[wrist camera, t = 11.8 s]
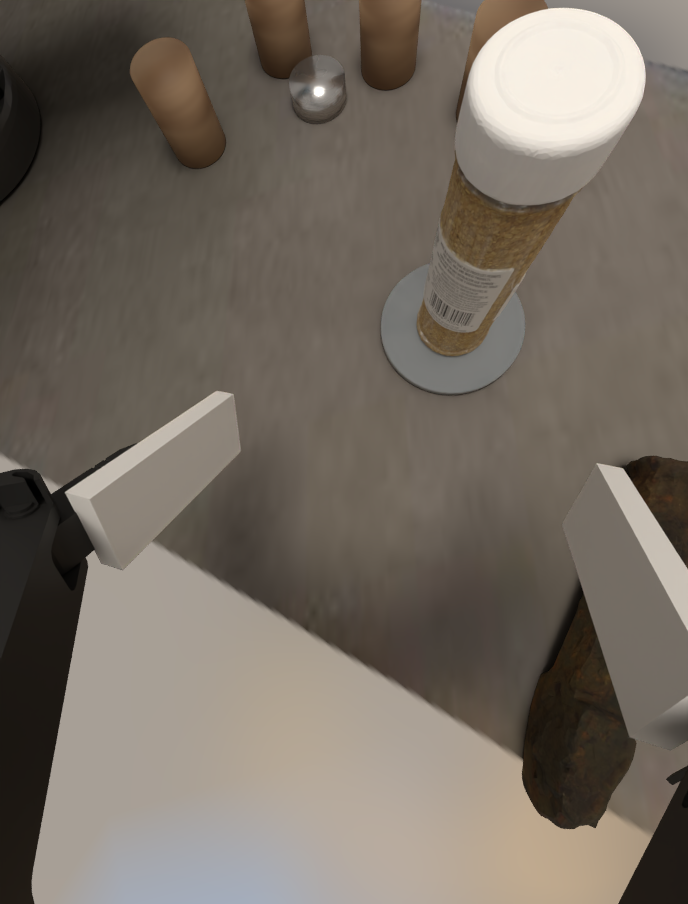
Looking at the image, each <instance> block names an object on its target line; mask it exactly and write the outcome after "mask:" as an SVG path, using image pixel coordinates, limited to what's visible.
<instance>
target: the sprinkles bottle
mask: <svg viewBox="0 0 688 904" xmlns="http://www.w3.org/2000/svg"><path fill="white" fill-rule="evenodd" d="M645 77H646V74H645V66H644V61H643V58H642V55H641V52H640V50H639V48H638V46H637V45H636V43H635V42H634V40H633V39H632V38H631V37H630V35H629V34H628V33H627V32H626V31H625V30H624V29H623V28H622V27H620V26H619V25H618V24H617V23H615V22H613V21H612V20H610V19H608V18H606V17H604V16H602V15H599V14H597V13H594V12H590V11H586V10H581V9H573V8H552V9H545V10H540V11H537V12H533V13H530V14H527V15H525V16H522V17H520V18H518V19H516V20H514V21H512V22H510V23H509V24H507V25H506V26H504V27H503V28H501V29H500V30H499V31H498V32H496V33H495V34H494V35H493V36H492V37H491V38H490V39H489V40H488V41H487V42H486V44H485V45H484V46H483V47H482V48H481V50H480V52H479V53H478V55H477V57H476V59H475V60H474V62H473V64H472V67H471V70H470V73H469V76H468V80H467V84H466V88H465V93H464V97H463V101H462V105H461V109H460V113H459V118H458V123H457V128H456V133H455V162H454V166H453V171H452V175H451V179H450V183H449V188H448V192H447V196H446V200H445V204H444V207H443V209H442V212H441V216H440V220H439V224H438V229H437V233H436V238H435V242H434V247H433V251H432V256H431V261H430V265H429V269H428V274H427V278H426V283H425V287H424V298H423V301H422V305H421V307H420V309H419V312H418V315H417V330H418V333H419V336H420V338H421V340H422V341H423V342H424V343H425V345H426V346H427V347H428V348H430V349H432V350H433V351H434V352H436V353H439V354H442V355H445V356H459V355H463V354H466V353H469V352H472V351H473V350H474V349H476V348H477V347H478V346H479V345H480V344H481V343H482V342H483V340H484V339H485V337H486V336H487V334H488V332H489V329H490V327H491V325H492V324H493V322H494V320H495V319H496V318H497V317H498V316H499V315H500V313H501V312H502V311H503V309H504V308H505V306H506V305H507V303H508V302H509V300H510V299H511V297H512V296H513V294H514V292H515V291H516V289H517V288H518V286H519V285H520V283H521V282H522V280H523V278H524V276H525V274H526V271H527V269H528V268H529V267H530V265H531V263H532V262H533V261H534V259H535V258H536V256H537V255H538V253H539V251H540V250H541V248H542V247H543V245H544V243H545V242H546V240H547V239H548V238H549V236H550V234H551V233H552V231H553V229H554V227H555V226H556V224H557V223H558V222H559V220H560V218H561V217H562V216H563V214H564V212H565V211H566V209H567V207H568V206H569V204H570V202H571V201H572V199H573V197H574V196H575V195H576V194H577V193H578V192H579V191H580V190H581V189H582V188H583V186H585V185H586V184H587V183H588V182H589V181H591V180H592V178H593V177H594V176H595V175H596V174H597V173H598V171H599V170H600V168H601V167H602V165H603V164H604V162H605V161H606V159H607V158H608V156H609V155H610V153H611V152H612V150H613V149H614V147H615V146H616V144H617V142H618V141H619V139H620V138H621V136H622V134H623V133H624V131H625V129H626V128H627V126H628V125H629V123H630V121H631V120H632V118H633V117H634V115H635V113H636V111H637V109H638V107H639V105H640V103H641V100H642V97H643V93H644V87H645Z"/></svg>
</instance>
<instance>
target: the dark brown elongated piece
mask: <svg viewBox="0 0 688 904" xmlns="http://www.w3.org/2000/svg"><path fill="white" fill-rule="evenodd" d="M627 469H628V472H629V474H630V477H631V479H630V480H631V481H632V483H633V485H634V486H635V488H636V489H637V491H638V492H639V494H640V496H641V497H642V499H643V500H644V502H645V503H646V505H647V506H648V508H649V510H650V511H651V513H652V514H653V516H654V517H655V519H656V520H657V522H658V524H659V525H660V527H661V528H662V530H663V531H664V533H665V535H666V536H667V538H668V539H669V541H670V542H671V544H672V545H673V547H674V549H675V550H676V552H677V553H678V555H679V556H680V558H681V559H682V561H683V563H684V564H685V566H686V567H687V569H688V462H686V461H678V460H674V459H671V458H662V457H659V456H646V457H642V458H640V459H638V460H636V461H631V462H630V463H629V464H628V465H627ZM635 748H636V741H635V739H633V738H630V737H629V734H628V731H627V727H626V724H625V721H624V718H623V715H622V712H621V709H620V705H619V702H618V699H617V696H616V693H615V690H614V686H613V683H612V680H611V677H610V674H609V671H608V668H607V664H606V661H605V658H604V655H603V652H602V649H601V646H600V642H599V639H598V636H597V633H596V630H595V627H594V624H593V620H592V617H591V614H590V611H589V608H588V605H587V602H586V598H585V595H584V594H583V596H582V598H581V600H580V602H579V605H578V609H577V612H576V614H575V617H574V619H573V622H572V624H571V626H570V628H569V631H568V633H567V636H566V638H565V640H564V642H563V644H562V647H561V649H560V652H559V654H558V656H557V659H556V661H555V664H554V666H553V667H552V668H551V669H550V670H549V672H545V673H543V674H541V676H540V678H539V681H538V684H537V687H536V690H535V693H534V697H533V701H532V704H531V709H530V715H529V720H528V726H527V732H526V738H525V746H524V758H523V769H522V780H523V785H524V788H525V790H526V792H527V794H528V796H529V798H530V800H531V802H532V804H533V806H534V807H535V809H536V810H537V812H538V813H539V814H540V815H541V816H543V817H545V818H548V819H549V820H550V821H552V823H554V824H555V825H556V826H558V827H560V828H563V829H575V828H576V827H578V826H583V825H589V826H592V827H594V828H596V826H597V823H598V821H599V820H600V818H601V817H602V815H603V814H604V813H605V811H606V808H607V804H608V802H609V800H610V798H611V795H612V793H613V792H614V790H615V789H616V787H617V786H618V784H619V783H620V781H621V780H622V779H623V777H624V776H625V774H626V773H627V771H628V770H629V767H630V765H631V762H632V760H633V757H634V753H635Z"/></svg>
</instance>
